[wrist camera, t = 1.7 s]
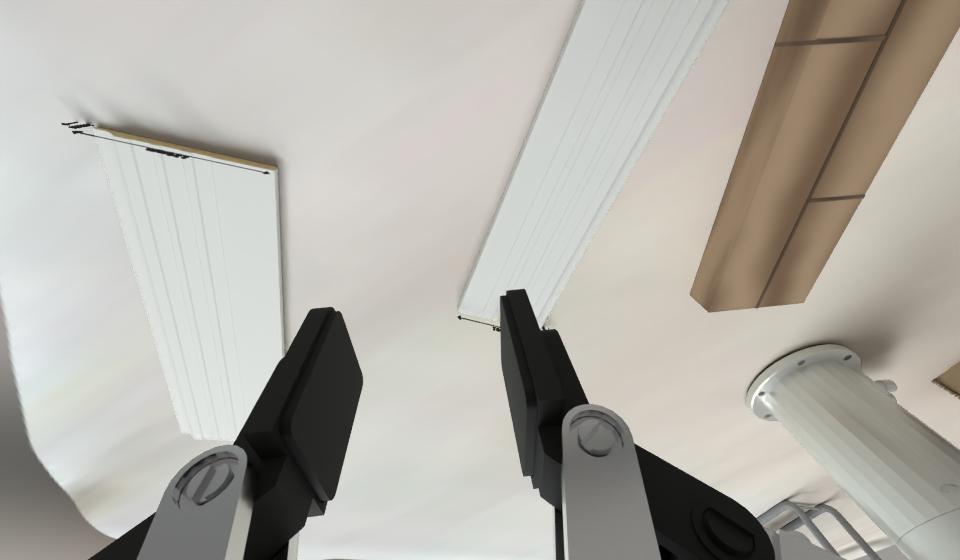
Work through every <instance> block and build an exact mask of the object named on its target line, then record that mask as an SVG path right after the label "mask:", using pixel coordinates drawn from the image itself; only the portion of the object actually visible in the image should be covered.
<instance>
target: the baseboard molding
mask: <svg viewBox="0 0 960 560" xmlns="http://www.w3.org/2000/svg"><path fill="white" fill-rule="evenodd" d="M74 123H78V122H73V123H67V124H65V123H61V124H62V125H69V124H74ZM88 126H91V125H89V124H86V125H85V124H82V125H77V126H76V125H75V126H71V127H70V126H69V128H74V129H77V128H82V127H88ZM92 126H94V125H92ZM92 130H93V133H94V135H90V134H85V133H81V132H83V131H72V132H73V133H74V134H76V133H80V134H85V135H90V136H94V137H95V140H96V143H97V147H98V150H99V154H100V157H101V160H102V164H103V167H104V171H105V174H106V177H107V181H108V184H109V188H110V191H111V195H112V198H113V201H114V205H115V208H116V212H117V215H118V218H119V222H120V225H121V229H122V232H123V236H124V239H125V242H126V246H127V249H128V253H129V256H130V260H131V263H132V266H133V270H134V273H135V277H136V280H137V283H138V287H139V290H140V294H141V297H142V301H143V304H144V307H145V311H146V314H147V318H148V321H149V325H150V328H151V331H152V335H153V338H154V342H155V345H156V348H157V352H158V355H159V359H160V362H161V366H162V369H163V372H164V376H165V379H166V383H167V386H168V389H169V393H170V396H171V400H172V403H173V407H174V410H175V413H176V417H177V420H178V424H179V427H180V431H181V433H185V434H191V435H192V436H193V438H194V439H198V440H203V439H212V440H216V441H220V440H229V441H233V442H235V440H236V438H237V437H238V435H239V433H240V431H241V429H242V428H243V426H244V424H245V422H246V420H247V419H248V417H249V415H250V413H251V411H252V409H253V408H254V406H255V404H256V402H257V400H258V399H259V397H260V395H261V393H262V391H263V390H264V388H265V386H266V384H267V382H268V380H269V379H270V377H271V375H272V373H273V371H274V370H275V368H276V366H277V364H278V363H279V361H280V360H281V359H282V358H283V357H285V347H284V320H283V294H282V267H281V241H280V215H279V188H278V167H276V166H271V165H267V164H262V163H258V162H253V161H249V160H244V159H240V158H235V157H231V156H226V155H222V154H217V153H212V152H208V151H203V150H199V149H194V148H190V147H185V146H181V145H176V144H172V143H167V142H163V141H158V140H154V139H149V138H145V137H140V136H136V135H131V134H127V133H122V132H117V131H113V130H108V129H104V128H99V127H95V128H92Z"/></svg>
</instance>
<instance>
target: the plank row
mask: <svg viewBox="0 0 960 560" xmlns="http://www.w3.org/2000/svg"><path fill="white" fill-rule="evenodd" d="M959 27H960V0H790V2H789V5H788V7H787V10H786V13H785V16H784V19H783V22H782V25H781V28H780V31H779V34H778V37H777V40H776V43H775V46H774V49H773V52H772V55H771V57H770V60H769V63H768V66H767V69H766V72H765V75H764V78H763V81H762V84H761V87H760V90H759V93H758V96H757V99H756V102H755V105H754V107H753V110H752V113H751V116H750V119H749V122H748V125H747V128H746V131H745V134H744V137H743V140H742V143H741V146H740V149H739V152H738V155H737V158H736V160H735V163H734V166H733V169H732V172H731V175H730V178H729V181H728V184H727V187H726V190H725V193H724V196H723V199H722V202H721V205H720V208H719V210H718V213H717V216H716V219H715V222H714V225H713V228H712V231H711V234H710V237H709V240H708V243H707V246H706V249H705V252H704V255H703V258H702V260H701V263H700V266H699V269H698V272H697V275H696V278H695V281H694V284H693V287H692V290H691V293H690V296H692V297H693V298H694V299H695V300H696V301H697V302H698V303H699V304H700V305H701V306H702V307H703V308H704V309H706V310H707V311H708V312H719V311H729V310H739V309H749V308H759V307H768V306H778V305H788V304H798V303H804V301H805V299H806V297H807V296H808V294H809V292H810V290H811V289H812V287H813V285H814V283H815V282H816V280H817V278H818V276H819V275H820V273H821V271H822V269H823V267H824V266H825V264H826V262H827V260H828V259H829V257H830V255H831V253H832V252H833V250H834V248H835V246H836V245H837V243H838V241H839V239H840V237H841V236H842V234H843V232H844V230H845V229H846V227H847V225H848V223H849V222H850V220H851V218H852V216H853V215H854V213H855V211H856V209H857V207H858V206H859V204H860V202H861V200H862V199H863V198H864V197H865V193H866V192H867V190H868V188H869V186H870V184H871V183H872V181H873V179H874V177H875V176H876V174H877V172H878V170H879V169H880V167H881V165H882V163H883V162H884V160H885V158H886V156H887V154H888V153H889V151H890V149H891V147H892V146H893V144H894V142H895V140H896V139H897V137H898V135H899V133H900V132H901V130H902V128H903V126H904V124H905V123H906V121H907V119H908V117H909V116H910V114H911V112H912V110H913V109H914V107H915V105H916V103H917V101H918V100H919V98H920V96H921V94H922V93H923V91H924V89H925V87H926V86H927V84H928V82H929V80H930V79H931V77H932V75H933V73H934V71H935V70H936V68H937V66H938V64H939V63H940V61H941V59H942V57H943V56H944V54H945V52H946V50H947V49H948V47H949V45H950V43H951V41H952V40H953V38H954V36H955V34H956V33H957V31H958V29H959Z"/></svg>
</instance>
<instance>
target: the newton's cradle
mask: <svg viewBox="0 0 960 560" xmlns="http://www.w3.org/2000/svg"><path fill="white" fill-rule="evenodd" d="M786 509H792V510H794V511H795V512H796V513H797V514H798V516H799V517H798V518H797V519H795V520H794V521H792V522H790V523H789V524H787V525H786V526H784V527H783V528H781V530H783V531H785V532H788V533H790V534H792V535H794V536H796V537H798V538H801V539H803V540H805V541H807V542H809V543H811V542H810V540H809V539H808V538H807V537H806V536H805V535H803V534H802V533H800V532H797V531H794V530H795V529H797V528H799V527H800V526H802V525H804V524H805V525H806V526H807V527H808V528H809V530H810V531H811V532H812V533H813V535H814V536H815V537H816V538H817V540H818V541H819V542H820V544H821V545H822V546H823V547H824V549H825V550H827V551H829V552H831V553H833V554H835V555H837V556H840V555H839V554H838V553H837V552H836V550H835V549H834V548H833V547H832V545H831V544H830V543H829V542H828V541H827V539H826V538H825V537H824V536H823V534H822V533H821V532H820V531H819V529H818V528H817V527H816V526H815V524H814V523H813V522H812V521H811V520H812V519H813V518H815V517H817V516H818V515H820V514H822V513H823V512H829V513H831V514H832V515H833V516H834V517H835V518H836V519H837V520H838V521H839V523H840V524H841V525H842V526H843V527H844V528H845V529H846V531H847V532H848V533H849V534H850V535H851V536H852V538H853V539H854V540H855V541H856V542H857V543H858V544H859V546H860V547H861V548H862V549H863V550H864V551H865V553H866V554H867V555H868V556H869V557H870V558H871V559H872V560H881V559H880V558H879V556H878V555H877V554H876V553H875V552H874V551H873V550H872V548H871V547H870V546H869V545H868V544H867V543H866V542H865V541H864V539H863V538H862V537H861V536H860V535H859V534H858V533H857V532H856V530H855V529H854V528H853V527H852V526H851V525H850V524H849V523H848V521H847V520H846V519H845V518H844V517H843V516H842V515H841V514H840V513H839V512H838V511H837V510H836V509H834V508H833V507H831V506H828V505H818V506H816V507H805V506H798V505H796V504H795V503H793V502H790V501H783V502H780V503H779V504H777V505H776V506H774V507H773V508H771V509H770V510H768V511H767V512H765V513H764V514H763V515H761V516H760V517H758V518H757V520H758V521H759V522H760V524H761V525H763V524H765V523H766V522H768V521H769V520H771V519H772V518H774V517H775V516H777V515H778V514H780V513H781V512H783V511H784V510H786ZM802 509H811V510H810V511H808V512H806V513H805V512H804V511H803V510H802ZM811 544H812V543H811Z"/></svg>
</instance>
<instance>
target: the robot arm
mask: <svg viewBox="0 0 960 560" xmlns="http://www.w3.org/2000/svg"><path fill="white" fill-rule="evenodd" d="M500 327H501V363H502V371H503V376H504V381H505V386H506V391H507V396H508V401H509V406H510V412H511V417H512V422H513V427H514V432H515V437H516V442H517V447H518V452H519V458H520V463H521V468H522V472H523V476H531V479H532V484H533V489H536V488H539V492H540V496H541V497H542V498H543V499H544V500H546V501H547V502H548V503H550V504H551V505H552V506H553V549H554V560H846V559H844V558H842V557H840V556H837V555H835V554H833V553H831V552H829V551H827V550H824V549H822V548H820V547H818V546H816V545H814V544H811V543H809V542H807V541H805V540H803V539H801V538H798V537H796V536H794V535H792V534H790V533H788V532H785V531H783V530H781V529H778V530H777V531H776V532H773V531H771V530H769V529H767V528H765V527H762V525H761V524H760V522H759V521H758V520H757V519H756V518H755V517H754V516H753V515H752V514H751V513H750V512H749V511H748V510H747V509H746V508H745V507H743V506H742V505H740V504H739V503H737V502H736V501H735V500H733V499H731V498H730V497H728V496H726V495H724V494H723V493H721V492H719V491H717V490H716V489H714V488H712V487H710V486H708V485H707V484H705V483H703V482H701V481H700V480H698V479H696V478H694V477H693V476H691V475H689V474H687V473H685V472H684V471H682V470H680V469H678V468H677V467H675V466H673V465H671V464H670V463H668V462H666V461H664V460H663V459H661V458H659V457H657V456H655V455H654V454H652V453H650V452H648V451H647V450H645V449H643V448H641V447H640V446H638V445H636V444H634V442H633V437H632V434H631V432H630V430H629V427H628V426H627V424H626V423H625V422H624V421H623V419H622V418H621V417H620V416H618V415H617V414H616V413H614V412H613V411H611V410H609V409H607V408H605V407H603V406H599V405H594V404H589V402H588V400H587V398H586V396H585V393H584V391H583V389H582V386H581V384H580V382H579V379H578V377H577V375H576V372H575V370H574V368H573V365H572V363H571V361H570V359H569V356H568V354H567V352H566V349H565V347H564V345H563V342H562V340H561V338H560V335H559V333H558V332H557V330H556V329H552V330H542V331H541V330H540V328H539V325H538V322H537V320H536V317H535V314H534V311H533V309H532V306H531V303H530V301H529V298H528V295H527V293H526V290H525V289H516V290H507V291H506V295H503V296H500ZM362 386H363V376H362V372H361V369H360V366H359V363H358V360H357V357H356V354H355V351H354V349H353V346H352V343H351V340H350V337H349V334H348V331H347V328H346V325H345V322H344V319H343V316H342V314H341V312H340V311H336V312H335V310H334V308H332V307H326V308H316V309H311V310H310V311H309V313H308V314H307V316H306V318H305V320H304V322H303V324H302V326H301V327H300V329H299V331H298V333H297V335H296V337H295V338H294V340H293V342H292V344H291V346H290V348H289V350H288V351H287V353H286V355H285V357H283V358H282V359H281V360H280V361H279V363H278V364H277V366H276V368H275V370H274V371H273V373H272V375H271V377H270V379H269V380H268V382H267V384H266V386H265V388H264V390H263V391H262V393H261V395H260V397H259V399H258V400H257V402H256V404H255V406H254V408H253V409H252V411H251V413H250V415H249V417H248V419H247V420H246V422H245V424H244V426H243V428H242V429H241V431H240V433H239V435H238V437H237V438H236V440H235V442H234V444H233V445H224V446H218V447H215V448H213V449H210V450H208V451H205V452H204V453H202V454H200V455H199V456H197V457H195V458H194V459H192V460H191V461H190V462H189V463H187V464H186V465H185V466H184V467H183V468H182V469H180V471H179V472H178V473H177V474H176V475H175V476H174V478H173V479H172V480H171V482H170V483H169V485H168V487H167V489H166V490H165V492H164V495H163V497H162V499H161V502H160V504H159V507H158V509H157V511H156V512H155V513H154V514H152V515H151V516H150V517H148V518H147V519H145V520H144V521H142V522H141V523H140V524H138V525H137V526H135V527H134V528H132V529H131V530H130V531H128V532H127V533H125V534H124V535H122V536H121V537H120V538H118V539H117V540H115V541H114V542H113V543H111V544H110V545H108V546H107V547H106V548H104V549H103V550H101V551H100V552H98V553H97V554H95V555H94V556H93V557H91V558H90V559H88V560H297V554H298V542H299V531H300V530H301V529H302V528H303V527H304V526H305V523H306V519H307V517H312V516H320V515H324V513H325V509H326V505H327V501H329V500H332V499H333V498H334V496H335V494H336V490H337V486H338V482H339V478H340V474H341V470H342V466H343V462H344V458H345V454H346V450H347V446H348V442H349V438H350V434H351V430H352V426H353V422H354V418H355V414H356V410H357V406H358V402H359V398H360V394H361V390H362ZM896 390H897V386H896V384H895V383H894V382H893V381H891V380H877V381H873V380H872V379H870V378H869V377H868V376H866V375H865V374H864V373H862V372H861V360H860V358H859V356H858V355H856V354H855V353H854V352H853V351H851V350H850V349H848V348H846V347H844V346H841V345H833V344H826V345H817V346H813V347H809V348H805V349H803V350H800V351H797V352H795V353H792V354H790V355H788V356H786V357H784V358H782V359H781V360H779V361H777V362H776V363H774V364H773V365H771V366H770V367H769V368H767V369H766V370H765V371H764V372H763V373H762V374H760V375H759V376H758V378H757V379H756V380H755V381H754V382H753V384H752V385H751V387H750V388H749V391H748V394H747V398H746V403H747V406H748V408H749V409H750V410H751V411H752V412H753V414H754V415H756V416H757V417H758V418H760V419H763V420H768V421H779V422H780V423H781V424H782V425H783V426H784V427H785V428H786V429H787V431H788V432H789V433H790V434H791V435H792V436H793V437H794V438H795V439H796V440H797V441H798V442H799V443H800V444H801V445H802V446H803V447H804V449H805V450H806V451H807V452H808V453H809V454H810V455H811V456H812V457H813V458H814V459H815V460H816V461H817V462H818V463H819V464H820V465H821V467H822V468H823V469H824V470H825V471H826V472H827V473H828V474H829V475H830V476H831V477H832V478H833V479H834V480H835V481H836V482H837V483H838V485H839V486H840V487H841V488H842V489H843V490H844V491H845V492H846V493H847V494H848V495H849V496H850V497H851V498H852V499H853V500H854V501H855V503H856V504H857V505H858V506H859V507H860V508H861V509H862V510H863V511H864V512H865V513H866V514H867V515H868V516H869V517H870V518H871V520H872V521H873V522H874V523H875V524H876V525H877V526H878V527H879V528H880V529H881V530H882V531H883V532H884V533H885V534H886V535H887V536H888V538H889V539H890V540H891V541H892V542H893V543H894V544H895V545H896V546H897V547H898V548H899V549H900V550H901V551H902V552H903V554H905V555H906V557H907V558H908V559H909V560H960V449H958V448H957V447H955V446H954V445H953V444H951V443H950V442H949V441H947V440H946V439H945V438H943V437H942V436H941V435H939V434H938V433H937V432H935V431H934V430H933V429H931V428H930V427H929V426H927V425H926V424H925V423H923V422H922V421H921V420H919V419H918V418H916V417H915V416H914V415H912V414H911V413H910V412H908V411H907V410H906V409H904V408H903V407H902V406H900V405H899V404H898V403H897V400H896V398H895V397H894V396H893V395H892V393H890V392H894V391H896Z"/></svg>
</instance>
